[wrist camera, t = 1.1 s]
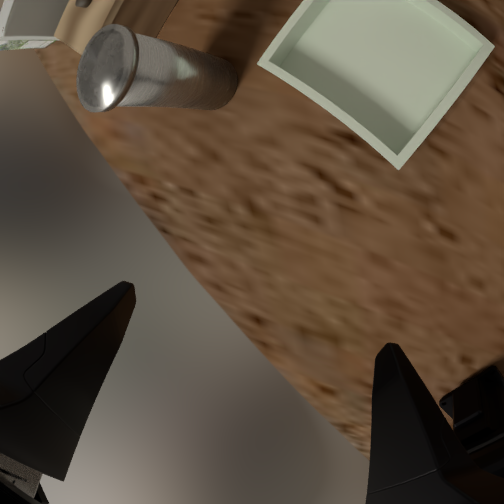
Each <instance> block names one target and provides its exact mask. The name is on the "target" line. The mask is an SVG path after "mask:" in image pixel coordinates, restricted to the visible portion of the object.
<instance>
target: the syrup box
mask: <svg viewBox="0 0 504 504" xmlns="http://www.w3.org/2000/svg"><path fill="white" fill-rule="evenodd" d="M0 12H1V9H0ZM55 41H56V40H6V41H0V50H9V49H29V48H30V49H31V48H45V47H47V46H48V45H50V44H52V43H53V42H55Z"/></svg>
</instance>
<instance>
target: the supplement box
mask: <svg viewBox="0 0 504 504" xmlns="http://www.w3.org/2000/svg"><path fill="white" fill-rule="evenodd" d="M68 2H69V0H4V3H3V6H2V8H1V12H0V41H6V40H59V39H57V38H56V37H54V34H55V31H56V29H57V26H58V24H59V22H60V19H61V17H62V15H63V12H64V10H65V8H66V6H67V4H68Z"/></svg>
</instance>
